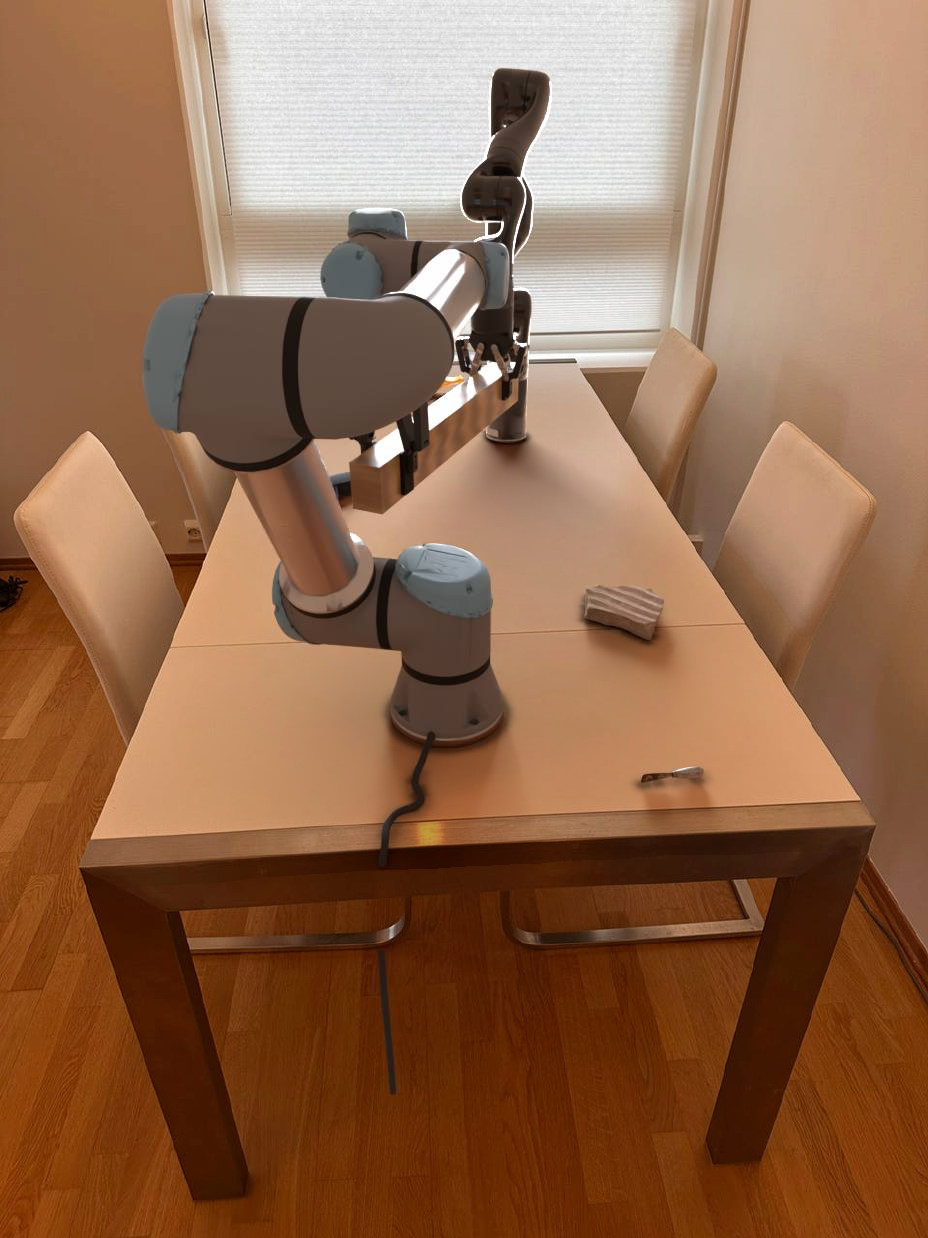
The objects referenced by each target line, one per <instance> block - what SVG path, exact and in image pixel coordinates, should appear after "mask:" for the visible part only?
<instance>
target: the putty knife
mask: <svg viewBox="0 0 928 1238" xmlns="http://www.w3.org/2000/svg"><path fill="white" fill-rule="evenodd" d="M704 772H705V771H704V768H702V767H701V766H697V765H695V766H688V767H683V768H679V769H675V770H673V771H671V772H653V773H652V772H651V773H650V772H649V773H644V774H642V776H641V779H640V783H642V784H645V783H648V782H653V781H659V780H665V779H668V778H673V779H674V778H675V779H693V778H694V779H695V778H700V777H702V776H703V775H704Z"/></svg>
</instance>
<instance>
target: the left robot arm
mask: <svg viewBox="0 0 928 1238" xmlns="http://www.w3.org/2000/svg"><path fill="white" fill-rule="evenodd" d="M347 220H348V226H347V227H348V230H347V233H346V234H347V237H348V239H347V240H344V241H343V242H342V243H341V242H339V243H338V244H337V245H335V246H334V247H333V248H332V249H331V250H330V252H329V253H328V254H327V255H326V257H325V258H324V260H323V262H322V264H321V268H320V275H319V279H320V284H321V288H322V291H323V293H324V294H325V296H317V297H315V296H314V297H313V296H275V295H273V296H272V295H239V294H237V295H236V294H235V295H234V294H215V292H214V291H213V290H206V291H204V292H202V293H201V292H200V293H179V294H174V295H173V294H172V295H171V296H169V297H167V298H166V299H164V300H163V301H162V302H161V303H160V304H159V306H158V307H157V308H156V310H155V312H154V314H153V315H152V318H151V320H150V323H149V325H148V328H147V331H146V334H145V335H146V336H145V340H144V345H143V353H142V386H143V394H144V399H145V402H146V406H147V410H148V412H149V414H150V416H151V418H152V420H153V421H154V423H155V424H156V425H157V426H158V427H159V428H161V429H163V430H165V431H170V432H173V433H174V434H176V435H177V434H178V435H181V433H191V434H193V435H194V436H195V437H196V439H197V441H198V443H199V444H200V446H201V448H202V450H203V451H204V454H205V455H206V456H207V457H208V458H209V460H210V461H212V462H213V463H214V464H215V465H217V466H218V467H219V468H222V469H223V470H226V471H229V472H233V473H234V475H235V478H236V479H237V481H238V482H239V484H240V486H241V489H242V490H243V492H244V493H245V497H246V498H247V500H248V501H249V504H250V506H251V507H252V509H253V511H254V513H255V515H256V516H257V519H258V520H259V523H260V524H261V526H262V528H263V530H264V532H265V534H266V536H267V537H268V539H269V541H270V543H271V545H272V547H273V549H274V550H275V553H276V555H277V556H278V559H279V560H280V561H279V562H278V564H277V567H276V569H275V572H274V574H273V579H272V584H271V585H272V586H271V602H272V604H273V606H274V610H273V613H274V617H275V620H276V623H277V625H278V627H279V628H280V630H281V631H282V633H283V634H284V635H285V636H287V637H288V638H289V639H291V640H293V641H296V642H301V643H302V642H303V643H306V644H308V645H312V646H313V645H314V646H321V645H326V646H327V645H328V646H340V647H352V648H362V649H363V648H364V649H375V650H383V651H384V650H385V651H386V650H387V651H395V652H396V651H397V652H400V655H401V667H400V669H399V672H398V675H397V678H396V681H395V684H394V687H393V690H392V693H391V696H390V704H389V705H390V718H391V721H392V724H393V725H394V727H395V728H396V729H397V731H398V732H399V733H400V734H402V735H403V736H404V737H406V738H407V739H409V740H411V741H413V742H415V743H417V744H420V745H421V744H422V745H423V747H422V750H421V753H420V756H419V758H418V761H417V763H416V765H415V766H414V770H413V772H412V775H411V781H410V782H411V789H412V791H413V792H414V795H416V800H415V801H413V803H410V804H407V805H404V806H401V807H398V808H396V809H395V810H393V811H392V812H391V813H390V814H389V816H388V817H387V818H386V820H385V821H384V823H383V825H382V829H381V838H380V848H379V856H378V862H377V863H378V867H379V868H384V867H385V866H387V861H388V855H389V847H390V845H389V844H390V832H391V829H392V826H393V824H394V822H395V821H396V820H397V819H398V818H399V817H401V816H404V815H406V814H410V813H412V812H415V811H417V810H419V809H420V808H421V807H422V806H423V805H424V804H425V800H426V796H425V792H424V790H423V789H422V788H421V786H420V783H419V782H420V777H421V774H422V771H423V769H424V766H425V764H426V762H427V759H428V756H429V754H430V750H431V747H437V748H454V747H455V748H457V747H463V746H467V745H471V744H473V743H476V742H480V741H481V740H483V739H485V738H486V737H488V736H489V735H491V734H492V733H493V732H494V731H495V730H496V729H498V727H499V726H500V724H501V722H502V720H503V717H504V697H503V693H502V690H501V687H500V685H499V682H498V679H497V677H496V674H495V672H494V668H493V666H492V664H491V654H492V653H491V651H492V649H491V648H492V647H491V644H492V643H491V642H492V641H491V640H492V639H491V637H492V636H491V635H492V608H493V606H494V605H493V604H494V598H493V594H492V584H491V581H492V580H491V574H490V571H489V569H488V568H487V565H486V564H485V563H484V562H483V560H480V559H479V558H478V557H477V556H476V555H475V554H474V553H472V552H470V551H468V550H466V549H463V548H460V547H458V546H454V545H450V544H446V543H445V544H444V543H435V542H433V543H423V544H422V545H421V546H420V545H418V544H416V545H412V546H410V547H408V548H406V549H404V550H403V551H401V553H400V554H399V555H398V557H397V558H390V557H377V556H373V554H372V552H371V549H370V548H369V547H368V545H367V544H366V543H365V542H364V541H363V539H362V538H360V537H358V536H357V535H356V534H353V533H351V531H350V528H349V526H348V523H347V521H346V518H345V515H344V512H343V510H342V506H341V504H340V501H338V500H339V498H338V499H337V496H336V493H335V491H334V488H333V485H332V483H331V480H330V477H329V476H330V475H329V472H328V470H327V469H328V468H327V467H326V464H325V462H324V459H323V456H322V453H321V451H320V448H319V446H318V442H317V441H316V440H333V441H334V440H335V441H337V440H344V439H349V440H350V441H353V440H354V441H355V442H357V443H358V444H359V447H360V455H361V454H362V453H363V452H365V451H366V450H368V449H369V448H371V447H372V446H373V445H375V444H376V443H378V442H379V441H374V440H375V439H376V438H377V436H375V433H376V431H377V430H381V429H383V428H384V429H385V428H386V427H387V426H390V425H392V424H394V423H396V427H397V428H398V431H399V434H400V438H401V442H402V445H403V449H404V451H402V452H401V453H400V454H399V455H400V478H401V495H404V497H406V496H407V495H409V494H410V493H411V492H413V491H414V490H415V488H414V473H415V472H416V471H417V470H418V452H420V451H422V450H423V449H425V448H426V447H428V446H429V445H430V437H429V414H428V407H429V400H431V398H433V396H434V395H435V394H436V393H438V391H439V390H440V389H439V388H440V387H441V386H442V384H443V383H444V381H445V380H446V378H447V377H449V374H450V372H451V370H452V368H453V365H454V362H455V357H456V356H455V355H456V347H455V342H456V341H457V339H458V338H460V337H461V334H462V333H463V331H464V330H465V328H466V326H467V325H468V323H469V321H471V317H472V315H473V314H474V312H475V310H476V309H480V310H486V309H498V308H501V307H503V306H504V305H505V303H506V300H507V296H508V288H509V253H508V250H507V248H506V246H505V245H503V244H501V243H492V242H484V241H482V240H477V239H476V240H477V241H476V240H474V241H470V240H468V241H467V240H464V241H463V240H462V241H461V240H459V241H458V240H417V239H415V240H414V239H409V237H408V233H407V223H406V217H405V214H404V213H403V211H401V210H399V209H397V208H396V209H395V208H390V207H389V208H387V207H370V208H368V207H367V208H360V209H355V210H353V211H351V212H350V213H349V215H348V219H347ZM475 241H476V242H475ZM412 418H413V421H412ZM386 961H387V957H386V951H385V950H381V949H377V965H378V980H379V981H378V982H379V992H380V993H379V994H380V1001H381V1002H380V1003H381V1004H380V1005H381V1013H382V1014H381V1015H382V1022H383V1035H384V1045H385V1056H386V1064H387V1077H388V1086H389V1087H388V1091H389V1095H391V1096H394V1095H396V1094H397V1082H396V1069H395V1056H394V1055H395V1054H394V1047H393V1046H394V1045H393V1044H394V1043H393V1036H392V1035H393V1034H392V1023H391V1014H390V1002H389V990H388V977H387V962H386Z"/></svg>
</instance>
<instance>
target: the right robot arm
mask: <svg viewBox="0 0 928 1238" xmlns="http://www.w3.org/2000/svg"><path fill="white" fill-rule="evenodd" d="M488 103H489V106H488V111H489V112H488V115H489V116H488V117H489V125H488V126H489V143H488V145H487V148H486V149H485V150H486V151H485V153H484V157H483V160H482V161H480V162H479V164H478V165H477V166H476V167H475V168H474V169H473V170H472V171H471V172H470V173H469V175H468V176H467V177H466V180H465V181H464V183H463V186H462V187H461V188H462V189H461V192H460V207H461V211H462V213H463V215H464V216H465V217H466V219H468V220H470V221H471V222H475V223H485V236H482V237H479V238H477V239H475V240H474V241H475V242H476V241H477V240H482V241H484V242H492V243H501V244H503V245H505V246H506V248H507V250H508V253H509V288H508V296H507V300H506V303H505V305H504V306H503V307H501V308H498V309H486V310H480V309H476V310H475V312H474V314H473V315H472V317H471V318H470V334H469V336H459V337H458V339H457V341H456V342H455V353H456V356H457V361H458V365H459V369H460V372H462V373H466V374H467V375H469V378H470V377H471V376H473V375H474V374H476V373H477V372H478V371H480V370H481V369H483V365H484V363H485V362H487V363H486V364H487V365H488V364H490V363H491V362H496V363H497V366H498V369H500V371H501V374H502V378H503V381H502V400H503V401H506V400H508V399H509V397H510V396H511V395H512V385H513V379H517V378H518V401H517V402H516V403H514V404H513V405H512V406H511V407H510V408H509V409H507V410H506V411H505V412H504V413H503V414H501V415H500V416H499V417H498V418H497V419H495V420H494V421H493V422H492V423H491V424H490V425H488V426H487V427H486V431H485V433H486V435H485V436H486V438H487V439H488V440H490V441H492V442H496V443H503V444H510V443H511V444H512V443H518V442H521V441H524V440H525V439H526V438H527V420H528V419H527V417H528V416H527V413H528V389H529V388H528V386H529V383H528V382H529V356H530V355H529V353H530V335H531V324H532V312H533V304H532V296H531V293H530V292H529V290H528V289H527V288H524V287H523V288H522V287H520V288H519V287H518V288H516V287H515V285H514V259H515V258H516V257H517V255H518V254H519V253H520V252H521V250H522V248H523V247H524V245H525V244H526V243H527V241H528V239H529V238H530V237H529V236H530V235H531V231H532V227H533V214H534V213H533V212H534V195H533V192H532V189H531V187H530V185H529V182H528V181H527V178H526V177H525V174H524V173H523V172H524V169H525V165H526V163H527V158H528V155H529V153H530V152H531V150H532V147H533V146H534V144H535V143H536V141H537V139H538V137H539V136H540V134H541V132H542V130H543V128H544V127H545V125H546V122H547V120H548V117H549V114H550V109H551V103H552V82H551V79H550V76H549V75H548V74H547V73H546V72H543V71H541V70H533V69H531V70H530V69H524V68H523V69H522V68H512V67H511V68H510V67H508V68H507V67H499V68H497V69H496V70H494V72H493V74H492V77H491V81H490V86H489V100H488ZM470 347H471V348H472V349H473V351H474V357H473V358H472V356H471V355H470V352H469V348H470ZM511 362H513V363H515V365H514V369H513V370H512V367H511ZM487 365H486V366H487Z"/></svg>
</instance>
